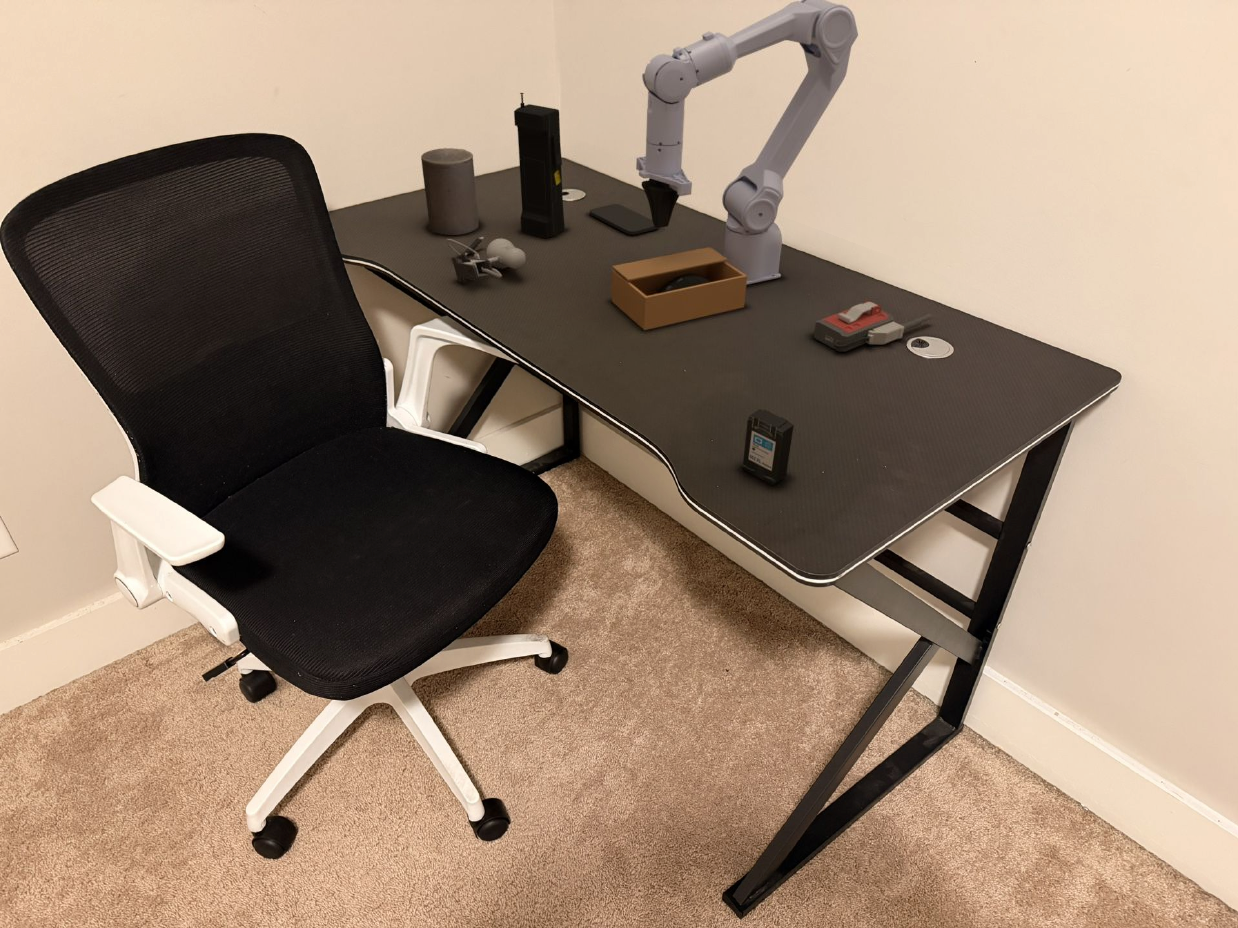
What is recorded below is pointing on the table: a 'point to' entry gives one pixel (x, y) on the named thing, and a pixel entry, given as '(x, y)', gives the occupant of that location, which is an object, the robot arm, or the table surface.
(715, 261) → the flap
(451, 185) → the pillar candle
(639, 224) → the phone
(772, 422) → the ink cartridge
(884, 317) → the walkie-talkie
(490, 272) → the clip-on lamp
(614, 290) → the carton
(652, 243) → the table surface
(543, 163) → the portable radio
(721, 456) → the table surface
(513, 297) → the table surface
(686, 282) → the gaming mouse
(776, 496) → the table surface
